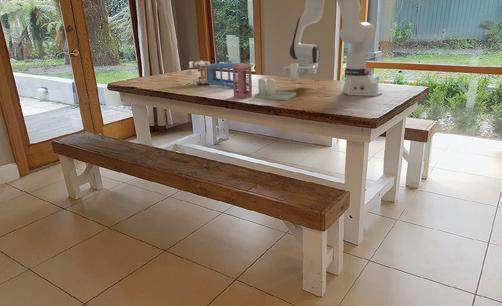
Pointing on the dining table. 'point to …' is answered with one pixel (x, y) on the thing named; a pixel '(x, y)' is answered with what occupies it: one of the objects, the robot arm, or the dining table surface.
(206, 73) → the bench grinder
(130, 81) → the dining table surface
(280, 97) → the tray
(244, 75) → the miniature model
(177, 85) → the dining table surface
